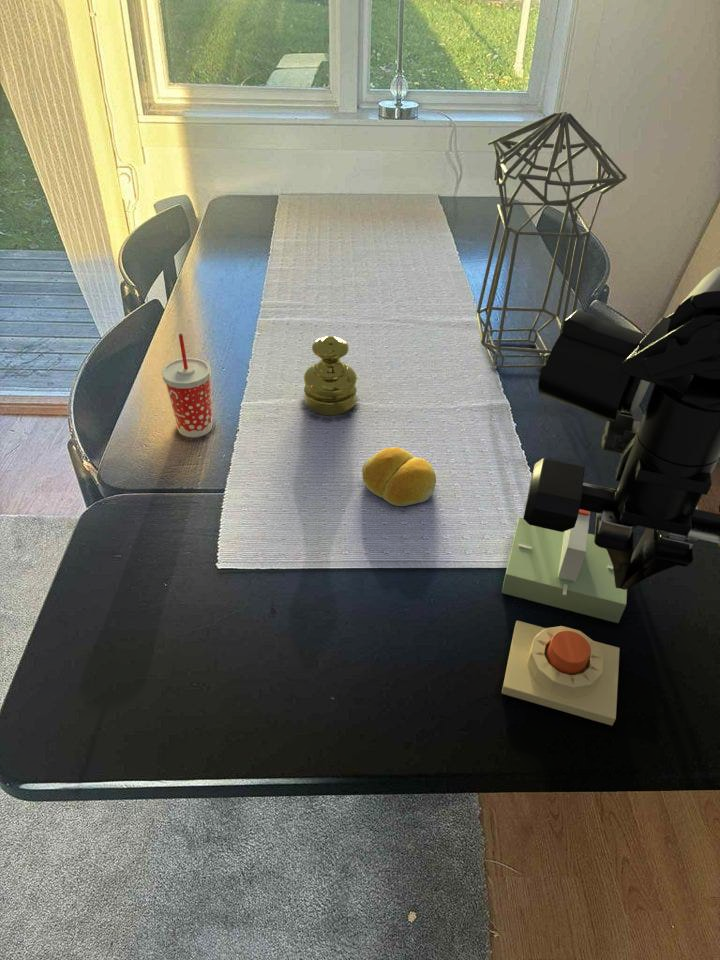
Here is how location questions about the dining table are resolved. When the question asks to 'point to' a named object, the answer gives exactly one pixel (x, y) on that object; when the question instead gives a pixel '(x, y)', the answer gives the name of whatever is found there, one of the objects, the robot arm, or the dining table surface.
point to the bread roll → (399, 477)
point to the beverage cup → (189, 393)
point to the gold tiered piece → (330, 379)
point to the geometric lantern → (543, 133)
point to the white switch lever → (574, 547)
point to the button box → (562, 675)
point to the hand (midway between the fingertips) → (620, 584)
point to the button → (568, 652)
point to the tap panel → (539, 582)
